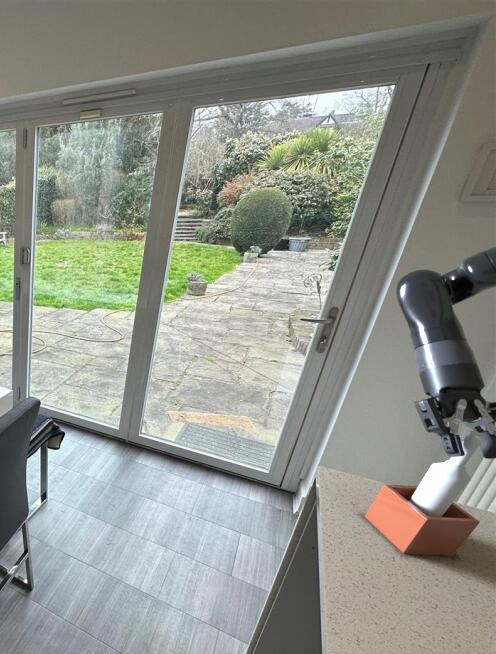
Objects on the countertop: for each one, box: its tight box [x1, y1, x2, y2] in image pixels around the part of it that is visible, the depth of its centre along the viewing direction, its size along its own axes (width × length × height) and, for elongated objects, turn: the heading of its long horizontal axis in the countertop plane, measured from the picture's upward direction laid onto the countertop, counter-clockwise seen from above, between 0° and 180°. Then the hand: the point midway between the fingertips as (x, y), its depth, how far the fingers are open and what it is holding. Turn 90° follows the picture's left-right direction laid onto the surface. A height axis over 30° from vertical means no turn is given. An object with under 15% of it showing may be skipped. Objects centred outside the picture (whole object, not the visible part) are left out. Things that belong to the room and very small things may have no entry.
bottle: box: [409, 430, 486, 517], centre depth 78 cm, size 5×5×25 cm
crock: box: [364, 483, 481, 557], centre depth 81 cm, size 10×10×9 cm
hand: (475, 457), depth 72 cm, fingers open, 5 cm apart
